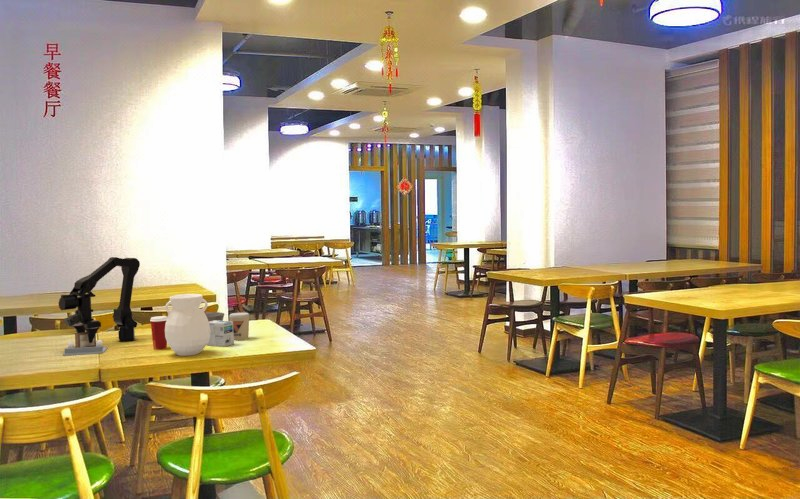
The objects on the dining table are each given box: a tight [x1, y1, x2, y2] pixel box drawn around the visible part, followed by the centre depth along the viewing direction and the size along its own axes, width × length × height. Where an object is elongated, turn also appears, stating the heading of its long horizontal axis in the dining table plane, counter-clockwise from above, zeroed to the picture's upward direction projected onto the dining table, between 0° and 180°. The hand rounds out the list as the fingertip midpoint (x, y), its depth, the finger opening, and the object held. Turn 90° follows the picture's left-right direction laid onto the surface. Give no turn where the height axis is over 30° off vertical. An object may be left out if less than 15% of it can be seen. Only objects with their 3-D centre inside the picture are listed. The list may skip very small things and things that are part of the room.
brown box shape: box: [74, 331, 97, 348], centre depth 308 cm, size 8×3×7 cm, turn 140°
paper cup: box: [149, 315, 168, 351], centre depth 303 cm, size 8×8×14 cm
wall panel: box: [62, 339, 108, 357], centre depth 298 cm, size 16×11×5 cm
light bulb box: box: [206, 320, 235, 348], centre depth 308 cm, size 11×7×11 cm, turn 65°
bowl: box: [204, 311, 225, 321], centre depth 338 cm, size 21×21×10 cm
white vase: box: [164, 293, 210, 357], centre depth 289 cm, size 19×18×25 cm
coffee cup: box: [228, 312, 250, 341], centre depth 322 cm, size 9×9×12 cm
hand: (85, 341), depth 308 cm, fingers open, 9 cm apart
